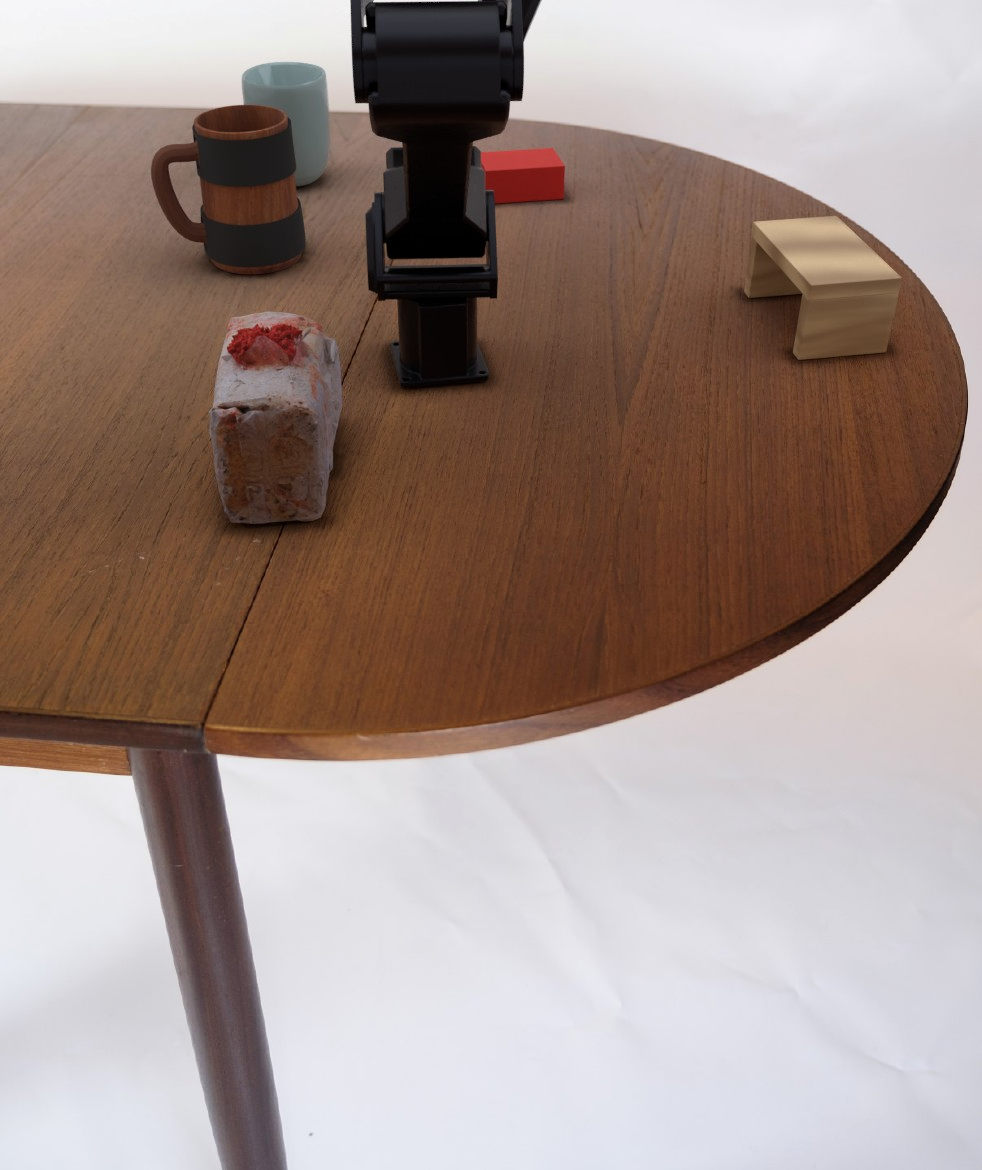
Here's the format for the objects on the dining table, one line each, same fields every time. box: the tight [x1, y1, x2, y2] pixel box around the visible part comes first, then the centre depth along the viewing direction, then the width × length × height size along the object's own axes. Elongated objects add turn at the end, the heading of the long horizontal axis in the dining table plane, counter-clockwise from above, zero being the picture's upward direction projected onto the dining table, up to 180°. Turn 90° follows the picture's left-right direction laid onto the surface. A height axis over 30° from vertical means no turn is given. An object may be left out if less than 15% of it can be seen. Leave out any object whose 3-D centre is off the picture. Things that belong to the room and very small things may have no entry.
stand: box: [743, 215, 903, 361], centre depth 99 cm, size 12×7×6 cm, turn 11°
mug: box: [150, 104, 307, 275], centre depth 106 cm, size 9×12×12 cm
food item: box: [208, 310, 343, 525], centre depth 80 cm, size 14×8×10 cm, turn 6°
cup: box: [241, 61, 331, 188], centre depth 121 cm, size 8×8×10 cm
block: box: [481, 147, 566, 205], centre depth 121 cm, size 8×5×3 cm, turn 101°
